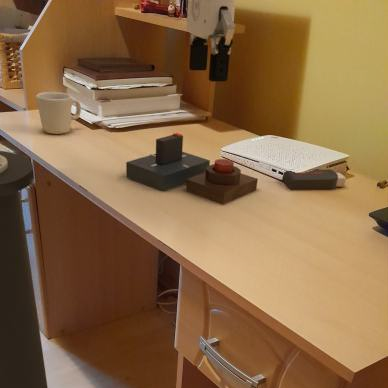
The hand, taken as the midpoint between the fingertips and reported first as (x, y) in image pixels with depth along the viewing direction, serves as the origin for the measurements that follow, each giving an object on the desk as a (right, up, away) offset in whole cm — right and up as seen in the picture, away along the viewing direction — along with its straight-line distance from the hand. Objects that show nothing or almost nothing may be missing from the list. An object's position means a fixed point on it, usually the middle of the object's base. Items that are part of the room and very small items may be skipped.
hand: (207, 75), depth 90 cm
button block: (+3, -17, +10) cm, 20 cm away
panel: (-8, -13, +15) cm, 21 cm away
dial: (-7, -10, +13) cm, 18 cm away
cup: (-34, +5, +35) cm, 50 cm away
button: (+3, -14, +8) cm, 17 cm away
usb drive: (+22, -14, +16) cm, 31 cm away
